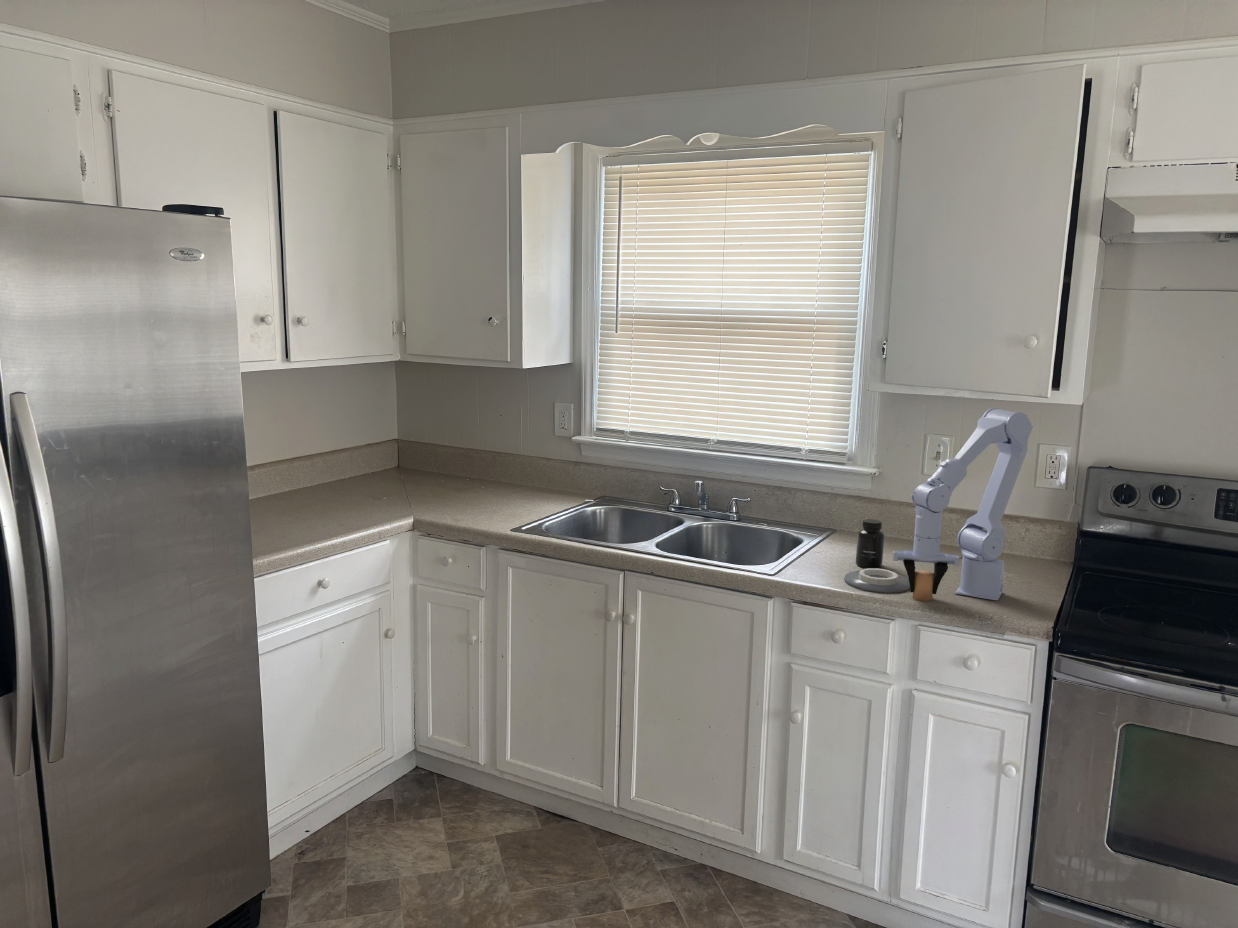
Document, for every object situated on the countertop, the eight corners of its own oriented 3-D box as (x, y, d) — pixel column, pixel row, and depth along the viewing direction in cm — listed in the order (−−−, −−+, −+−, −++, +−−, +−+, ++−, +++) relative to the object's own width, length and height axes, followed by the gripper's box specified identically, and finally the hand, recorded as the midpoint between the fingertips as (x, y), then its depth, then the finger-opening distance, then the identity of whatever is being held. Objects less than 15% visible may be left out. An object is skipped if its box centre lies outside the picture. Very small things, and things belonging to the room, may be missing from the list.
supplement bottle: (864, 569, 233) (867, 524, 231) (850, 562, 239) (853, 518, 237) (887, 568, 235) (890, 523, 233) (873, 560, 241) (876, 517, 239)
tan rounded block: (934, 597, 212) (936, 572, 211) (930, 602, 208) (932, 577, 207) (914, 593, 214) (916, 569, 213) (910, 598, 210) (912, 574, 209)
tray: (918, 579, 225) (919, 570, 225) (902, 597, 211) (903, 587, 211) (854, 569, 233) (855, 560, 233) (836, 585, 219) (836, 576, 219)
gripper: (957, 533, 211) (953, 589, 213) (893, 529, 214) (889, 584, 216) (962, 541, 204) (957, 598, 206) (895, 536, 207) (891, 593, 210)
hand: (922, 592), depth 211 cm, fingers closed on tan rounded block, 4 cm apart
